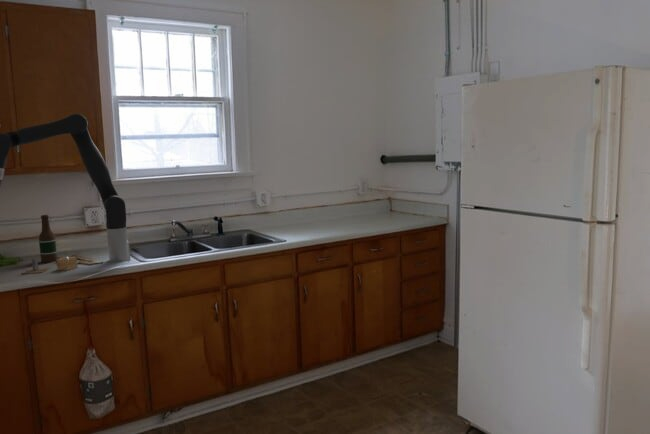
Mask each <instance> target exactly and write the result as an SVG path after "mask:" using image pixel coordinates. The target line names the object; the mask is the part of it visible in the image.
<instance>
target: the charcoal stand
mask: <svg viewBox="0 0 650 434" xmlns="http://www.w3.org/2000/svg"><path fill="white" fill-rule="evenodd" d="M68 257H69V256H64V258H65V259H67V258H68ZM78 268H79V267H78V266H77V268H74V269H70V270H62V271H65V272H67V271H72V270H75V269H78Z"/></svg>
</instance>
